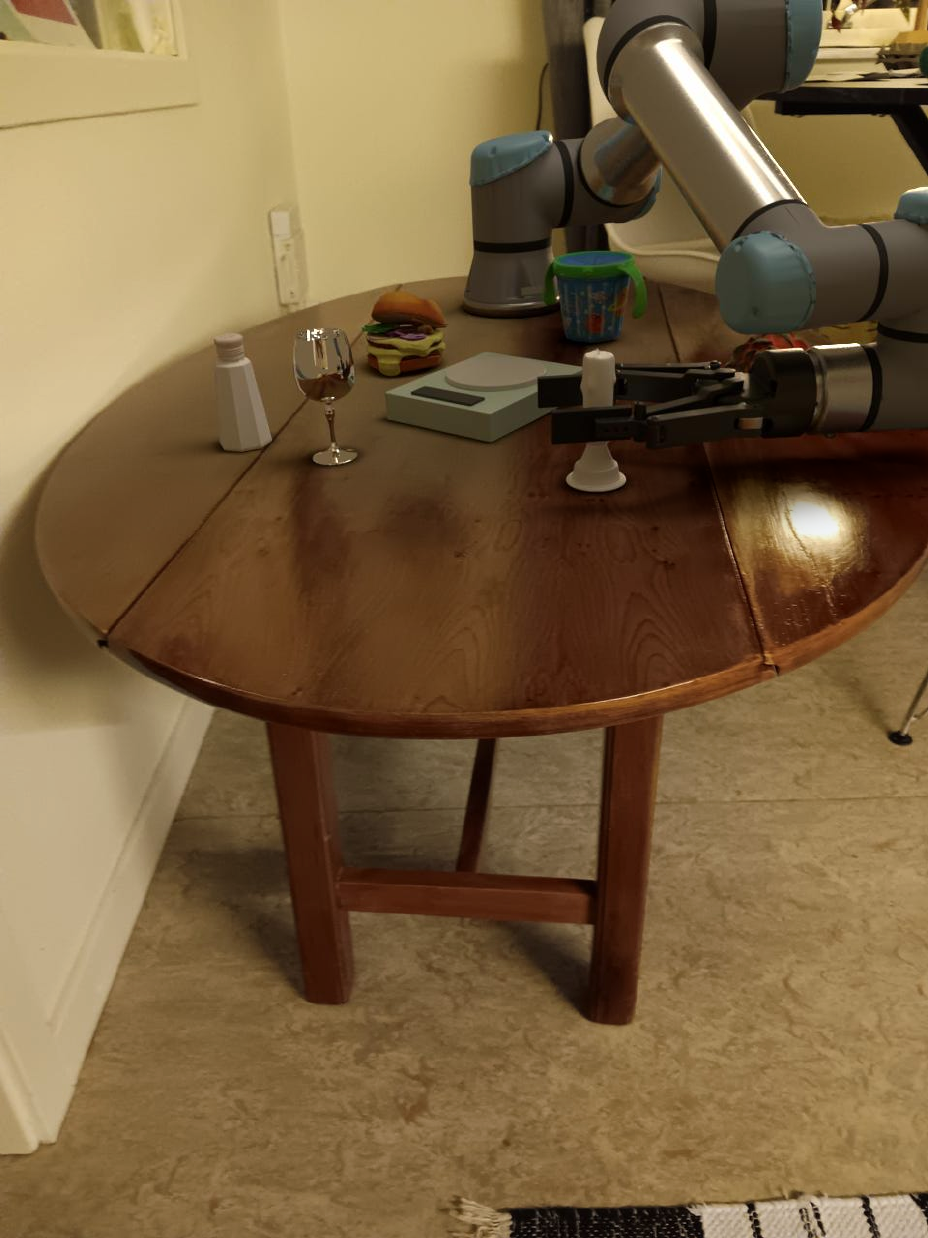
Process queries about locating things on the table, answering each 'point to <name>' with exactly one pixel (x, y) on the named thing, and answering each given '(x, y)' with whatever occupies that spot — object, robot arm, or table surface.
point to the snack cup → (594, 293)
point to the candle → (596, 461)
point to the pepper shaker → (238, 398)
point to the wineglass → (325, 379)
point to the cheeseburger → (404, 333)
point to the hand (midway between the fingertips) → (544, 409)
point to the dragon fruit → (761, 349)
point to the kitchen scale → (476, 396)
